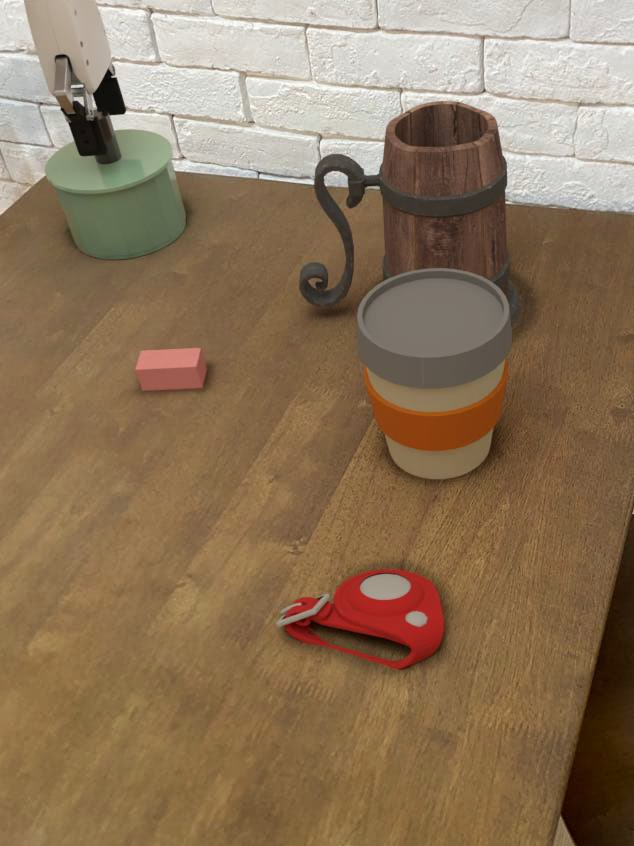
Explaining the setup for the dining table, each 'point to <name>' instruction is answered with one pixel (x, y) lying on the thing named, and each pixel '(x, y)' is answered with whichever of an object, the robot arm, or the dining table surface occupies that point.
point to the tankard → (427, 200)
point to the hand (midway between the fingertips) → (104, 133)
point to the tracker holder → (375, 613)
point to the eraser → (171, 369)
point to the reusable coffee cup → (435, 367)
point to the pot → (126, 218)
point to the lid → (110, 161)
